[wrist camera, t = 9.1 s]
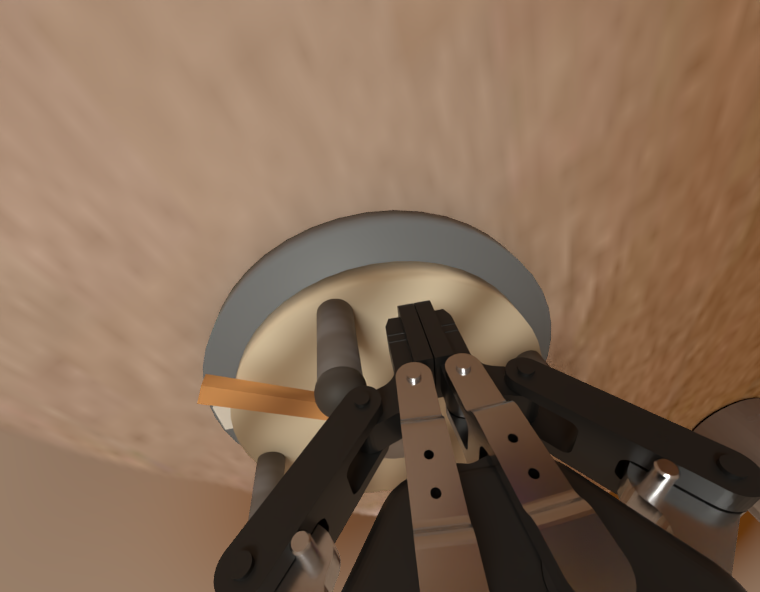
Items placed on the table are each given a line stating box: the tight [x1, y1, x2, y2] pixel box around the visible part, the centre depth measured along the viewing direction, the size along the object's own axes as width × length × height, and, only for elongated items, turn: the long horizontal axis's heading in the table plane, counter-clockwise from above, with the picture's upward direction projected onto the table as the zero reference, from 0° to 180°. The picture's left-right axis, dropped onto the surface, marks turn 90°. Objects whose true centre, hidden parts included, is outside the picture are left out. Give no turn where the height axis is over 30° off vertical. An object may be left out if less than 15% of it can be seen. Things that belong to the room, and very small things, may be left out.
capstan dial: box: [197, 261, 549, 521], centre depth 20 cm, size 22×20×8 cm
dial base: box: [203, 210, 551, 444], centre depth 24 cm, size 24×24×2 cm
